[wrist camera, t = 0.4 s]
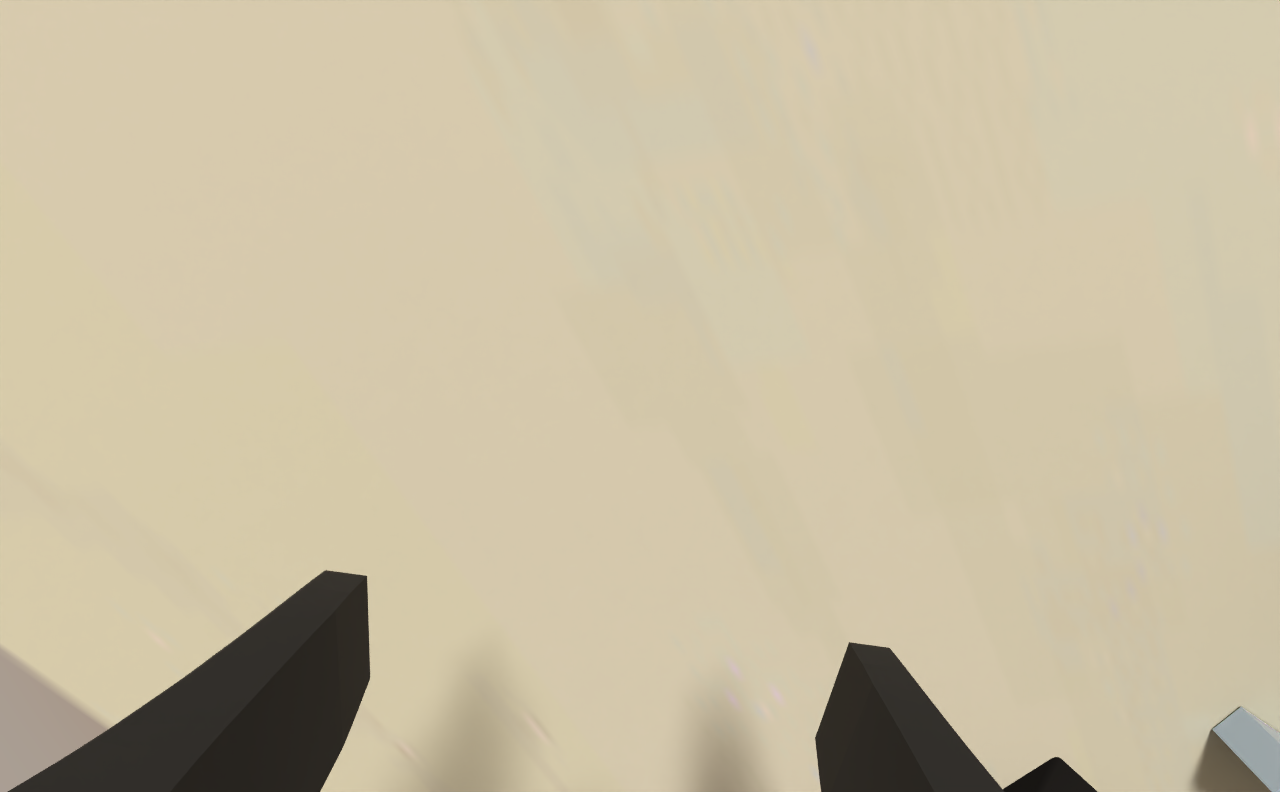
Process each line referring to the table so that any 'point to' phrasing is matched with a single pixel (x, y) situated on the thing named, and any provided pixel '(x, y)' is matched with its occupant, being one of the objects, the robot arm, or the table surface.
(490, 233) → the table surface
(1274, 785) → the bay
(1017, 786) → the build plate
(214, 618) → the table surface
